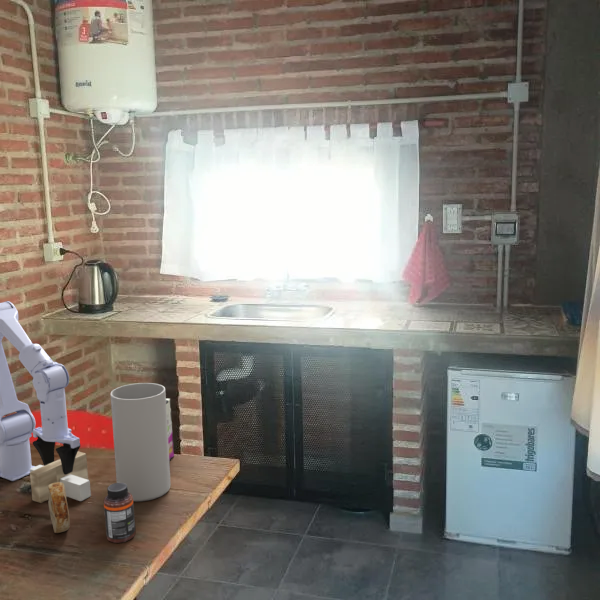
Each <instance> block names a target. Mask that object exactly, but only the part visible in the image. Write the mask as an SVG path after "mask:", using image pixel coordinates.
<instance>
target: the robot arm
mask: <svg viewBox="0 0 600 600" xmlns="http://www.w3.org/2000/svg"><path fill="white" fill-rule="evenodd" d="M3 338H6V340H8V342H9V343H10V344H11V345H12V347H14V348H15V349H16V350H17V352H19V354H18V360H19V361H20V363H21V364H22V366H23V367H24V368H25V369H26V370H27V371H28V373H29V374H30V376H31V377H32V380H31V381H32V382H31V383H32V385H33V388H34V390H35V393H36V398H37V400H38V401H39V406H40V407H39V409H40V417H41V427H40V426H38V427H36V424H37V423H36V419H35V416H34V415H33V413H32V411H31V409H30V406H29V404H28V403H25V402H22V401H20V400H18V396H17V392H16V389H15V385H14V381H13V378H12V375H11V372H10V368H9V364H8V361H7V357H6V353H5V350H4V346H3V342H2V340H3ZM69 383H70V376H69V372H68V370H67V368H66V367H65V365H63V364H62V363H59V362H57V361H54V360H52V358H51V357H50V356H49V354H47V352H46V351H45V350H44V348H43V347H42V346H41V345H40V344H39V343H33V341H31V339H30V338H29V336H28V334H27V333H26V331H25V330H24V328H23V326H22V325H21V324H20V322H19V311H18V309H17V307H16V306H15V305H14V304H13V302H11V301H8V300H7V301H3V302H0V478H3V479H5V480H8V481H11V482H15V481H18V480H19V479H21V478H24V477H26V476H28V475H29V476H30V469H31V468H33V467H36V466H35V465H32V455H31V454H32V453H31V444H30V438H31V437H32V436H33V438H34V439H35V438H36V439H35V440H34V441H33V442H32V446H33V447H34V448H35V449H36V450H37V452H38V455H39V457H40V459H41V461H42V464H43V466H45V465H47V464H50V463H52V462H54V461H55V451H56V453H57V454H58V456H59V459H60V460H61V464H62V470H63V473H64V474H65V475H67V474H69V473H71V472H72V471H73V466H74V461H75V457H76V454H77V452H78V451H80V449H81V443H80V442H81V441H80V437H77V436H76V435H74V434H73V433H72V429H71V428H69V426H68V414H67V401H66V389H65V388H67V387H68V386H69ZM14 412H15V413H14ZM6 415H7V416H6ZM56 443H58V444H62V445H61V446H59V447H57V448H56Z"/></svg>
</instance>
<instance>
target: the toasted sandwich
mask: <svg viewBox="0 0 600 600" xmlns="http://www.w3.org/2000/svg"><path fill="white" fill-rule="evenodd" d="M48 490H49V499H48V500H47V501H48V510H49V515H50V519H51V520H50V521H51V524H52V527H53V532H54V533H55V534H60V533H64V532H66V531H68V530H69V528H70V524H71V523H70V512H69V505H68V501H67V496H66V492H65V487H64V483H62V482H56V483H52V484H49V485H48Z"/></svg>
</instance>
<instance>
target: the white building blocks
mask: <svg viewBox="0 0 600 600" xmlns="http://www.w3.org/2000/svg"><path fill="white" fill-rule="evenodd" d="M43 466H44V464H43V465H42V464H38V465H36V466H35V467H33V468H31V469H30V472H31V471H34V470H36V469H38V468H41V467H43ZM60 482H62V483H64V487H65V492H66V498H70V499H73V500H76V501H79V502H82V501H84V500H87V499H88V498H89V497H91V496H92V492H91V482H90V480H89V479H88V480H87V479H84V478H81V477H78V476H74V475H71V474H69V475H67V476H65V477H63V478H61V479H60Z"/></svg>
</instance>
